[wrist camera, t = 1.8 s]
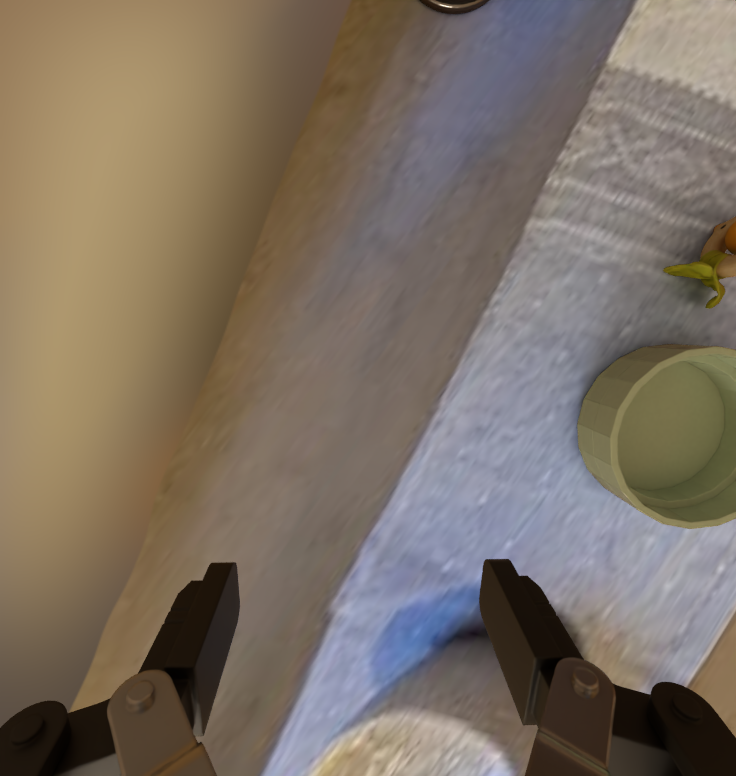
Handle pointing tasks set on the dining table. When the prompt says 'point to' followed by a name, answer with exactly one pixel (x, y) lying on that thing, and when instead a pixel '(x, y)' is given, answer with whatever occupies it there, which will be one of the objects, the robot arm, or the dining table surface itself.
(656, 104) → the dining table surface
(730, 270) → the bird rattle
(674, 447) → the bowl
